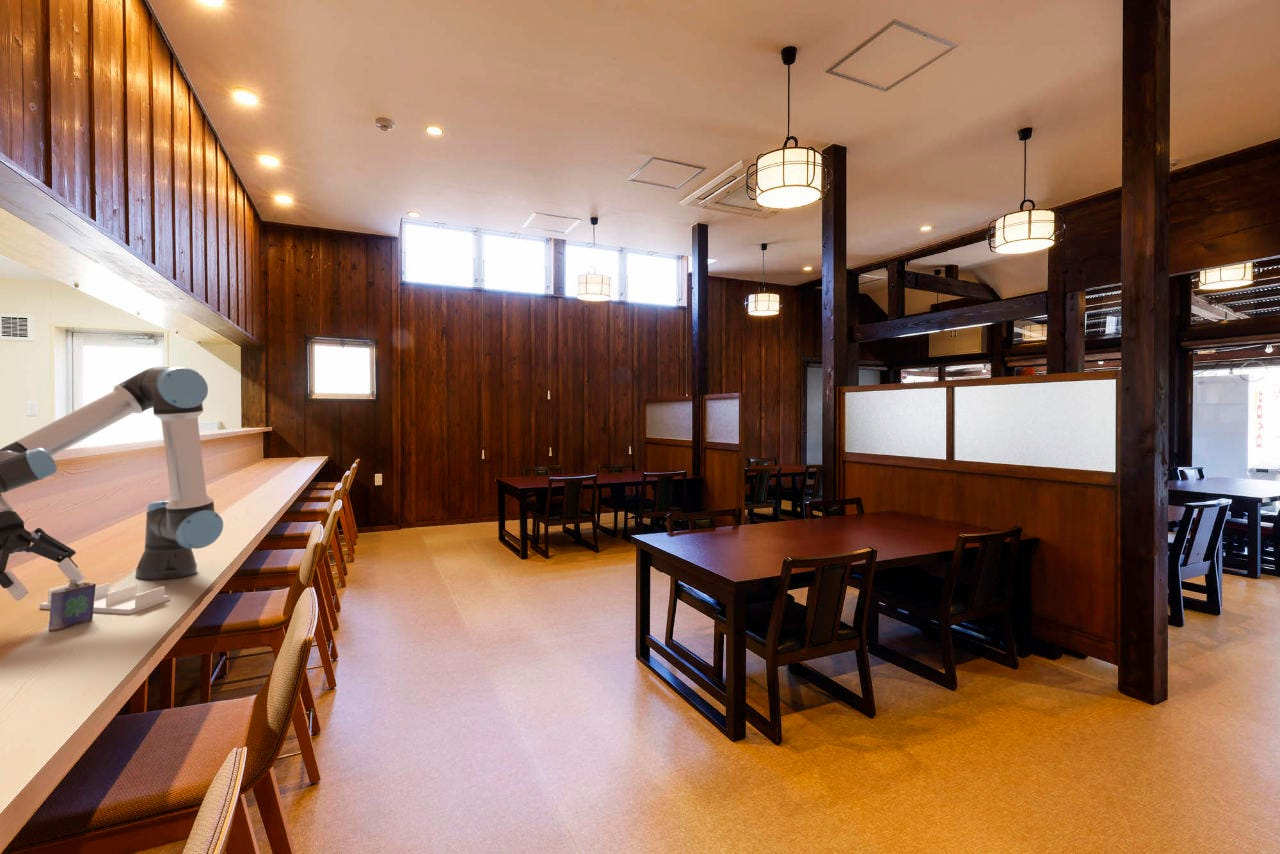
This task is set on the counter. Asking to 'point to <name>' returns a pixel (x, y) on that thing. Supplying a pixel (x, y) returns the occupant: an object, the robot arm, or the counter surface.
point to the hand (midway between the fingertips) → (52, 588)
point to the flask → (71, 605)
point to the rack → (119, 599)
